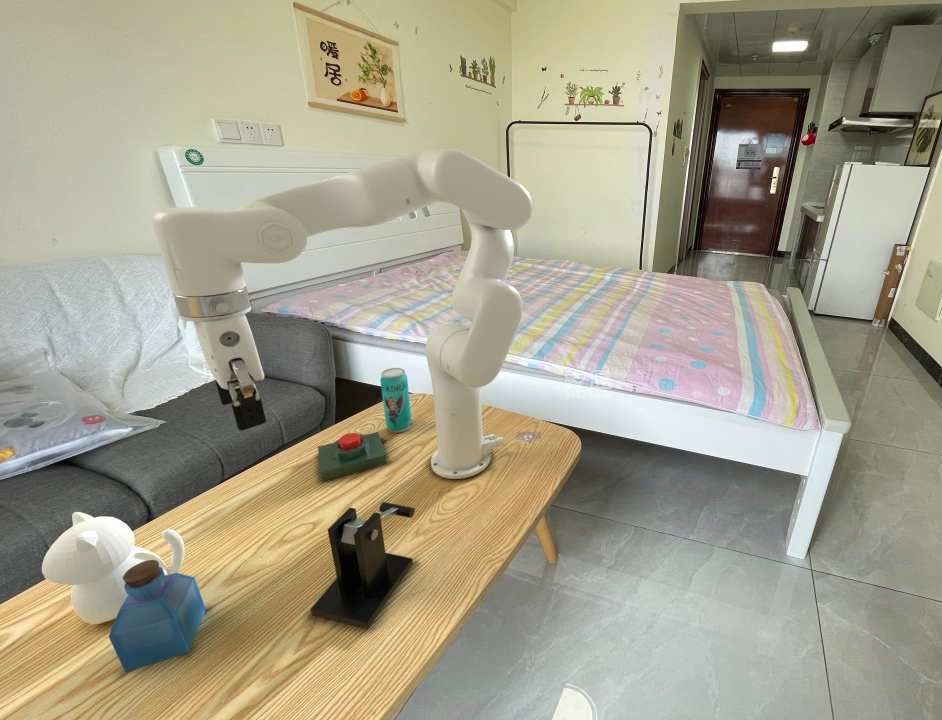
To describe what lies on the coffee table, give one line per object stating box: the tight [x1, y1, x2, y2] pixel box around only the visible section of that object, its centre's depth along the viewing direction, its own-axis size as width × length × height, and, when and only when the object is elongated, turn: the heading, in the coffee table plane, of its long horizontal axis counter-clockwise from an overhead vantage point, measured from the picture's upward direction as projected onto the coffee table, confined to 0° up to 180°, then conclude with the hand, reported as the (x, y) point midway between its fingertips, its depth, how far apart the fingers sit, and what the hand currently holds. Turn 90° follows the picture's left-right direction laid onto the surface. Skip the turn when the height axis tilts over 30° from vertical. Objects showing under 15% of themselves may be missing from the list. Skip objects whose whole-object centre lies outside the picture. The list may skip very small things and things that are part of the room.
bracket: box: [309, 507, 414, 630], centre depth 63 cm, size 11×9×13 cm
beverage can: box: [380, 367, 412, 434], centre depth 104 cm, size 6×6×15 cm
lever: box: [341, 501, 416, 545], centre depth 67 cm, size 12×6×2 cm, turn 169°
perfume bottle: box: [108, 560, 207, 672], centre depth 55 cm, size 6×6×12 cm
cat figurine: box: [41, 511, 185, 625], centre depth 60 cm, size 9×12×15 cm
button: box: [338, 432, 361, 450], centre depth 92 cm, size 4×4×2 cm
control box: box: [317, 431, 388, 482], centre depth 93 cm, size 12×10×4 cm
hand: (243, 413), depth 64 cm, fingers open, 9 cm apart
